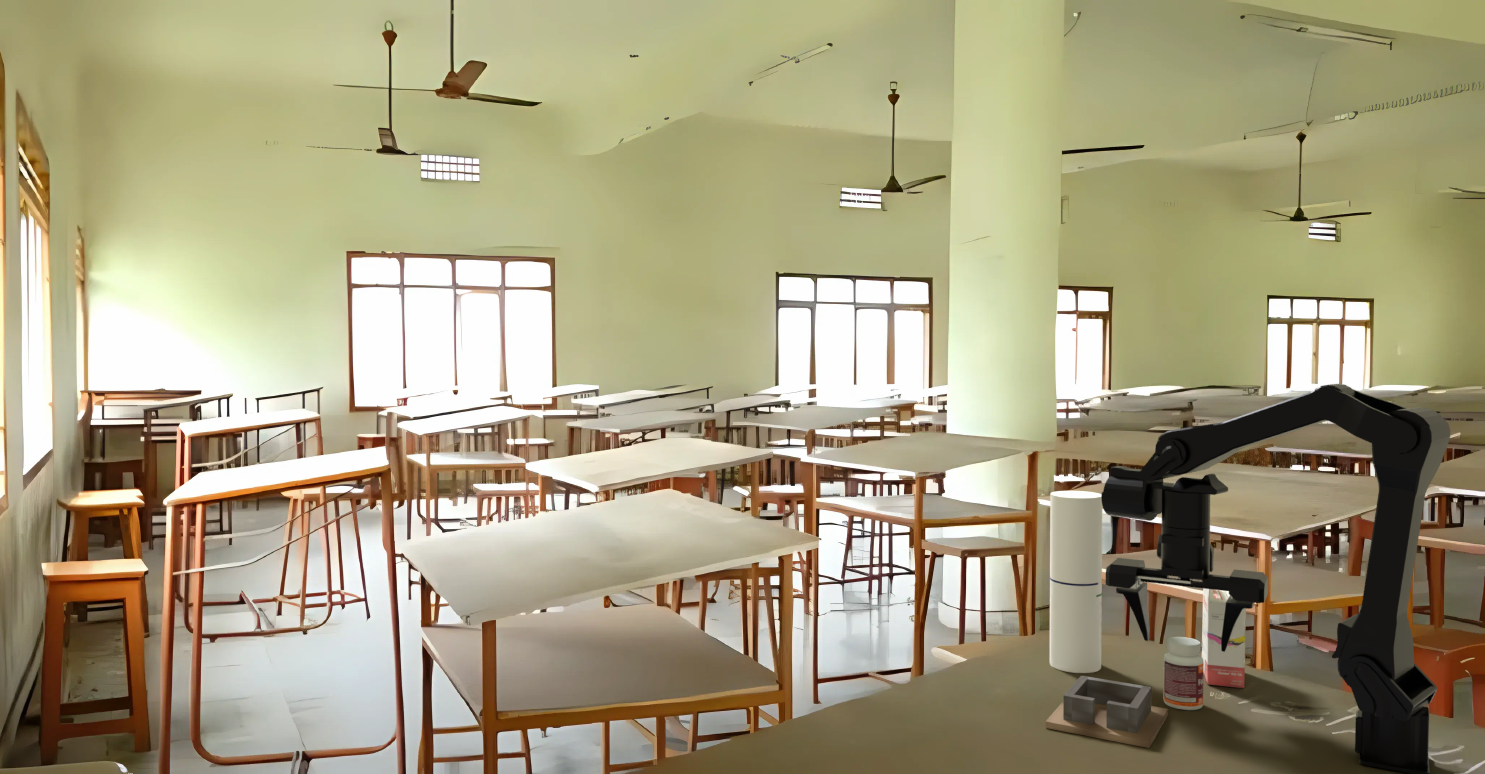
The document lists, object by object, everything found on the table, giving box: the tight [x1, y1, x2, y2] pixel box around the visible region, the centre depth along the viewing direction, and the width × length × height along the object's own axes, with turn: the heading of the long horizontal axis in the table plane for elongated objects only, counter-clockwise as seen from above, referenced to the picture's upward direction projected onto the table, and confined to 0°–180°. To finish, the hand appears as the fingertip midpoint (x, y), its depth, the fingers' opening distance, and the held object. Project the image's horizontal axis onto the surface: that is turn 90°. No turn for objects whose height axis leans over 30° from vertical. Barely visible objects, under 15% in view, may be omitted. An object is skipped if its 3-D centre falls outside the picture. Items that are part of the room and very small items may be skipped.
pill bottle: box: [1162, 636, 1204, 711], centre depth 132 cm, size 5×5×8 cm
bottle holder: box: [1045, 675, 1169, 749], centre depth 126 cm, size 12×12×4 cm
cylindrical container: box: [1049, 490, 1103, 674], centre depth 148 cm, size 7×7×25 cm
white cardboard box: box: [1201, 588, 1247, 689], centre depth 142 cm, size 9×5×15 cm, turn 161°
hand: (1184, 645), depth 132 cm, fingers open, 9 cm apart
